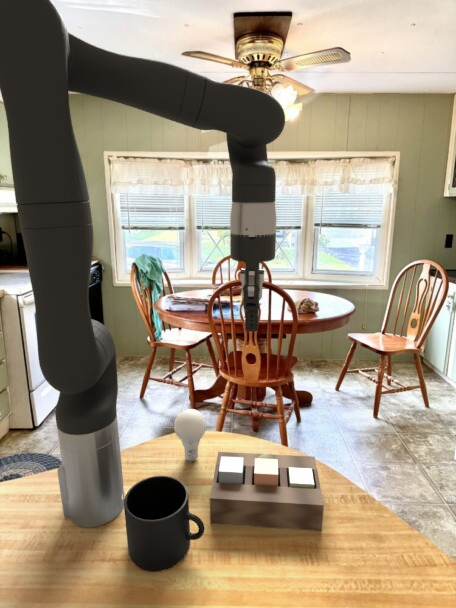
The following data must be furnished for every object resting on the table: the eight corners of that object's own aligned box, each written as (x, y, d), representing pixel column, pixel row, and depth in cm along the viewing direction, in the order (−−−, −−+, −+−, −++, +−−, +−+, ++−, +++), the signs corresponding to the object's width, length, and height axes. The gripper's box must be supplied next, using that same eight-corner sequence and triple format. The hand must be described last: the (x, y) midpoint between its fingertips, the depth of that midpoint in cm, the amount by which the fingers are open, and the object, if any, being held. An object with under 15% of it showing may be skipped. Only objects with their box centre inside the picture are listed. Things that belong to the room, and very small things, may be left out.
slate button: (219, 493, 69) (218, 471, 68) (221, 477, 73) (221, 456, 72) (242, 494, 69) (242, 472, 68) (243, 478, 73) (243, 457, 71)
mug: (195, 583, 56) (193, 530, 54) (116, 566, 59) (111, 515, 56) (213, 529, 65) (212, 482, 62) (144, 516, 68) (140, 471, 65)
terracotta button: (254, 495, 69) (254, 473, 67) (254, 479, 72) (254, 458, 71) (277, 497, 68) (278, 474, 67) (276, 480, 72) (277, 459, 71)
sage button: (289, 505, 69) (290, 483, 67) (287, 488, 72) (288, 467, 71) (313, 506, 68) (314, 484, 67) (310, 489, 72) (311, 468, 71)
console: (210, 523, 66) (209, 496, 65) (218, 474, 78) (218, 450, 76) (321, 530, 65) (323, 503, 63) (313, 479, 76) (314, 455, 75)
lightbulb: (206, 469, 79) (204, 420, 76) (173, 469, 79) (171, 420, 76) (208, 449, 85) (206, 402, 82) (178, 449, 85) (175, 402, 82)
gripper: (233, 227, 73) (233, 318, 78) (226, 234, 60) (227, 343, 65) (275, 227, 72) (272, 319, 77) (277, 235, 60) (273, 344, 64)
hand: (251, 329), depth 71 cm, fingers closed
